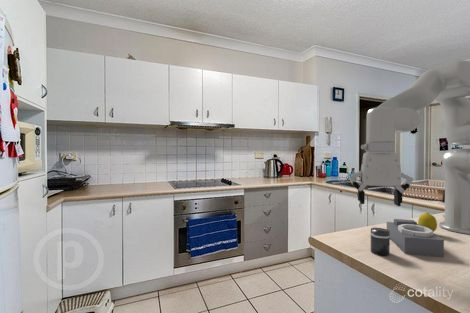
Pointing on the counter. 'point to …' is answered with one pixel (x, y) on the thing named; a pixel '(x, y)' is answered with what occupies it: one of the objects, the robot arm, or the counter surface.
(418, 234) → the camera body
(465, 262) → the counter surface
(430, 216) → the lemon
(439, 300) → the counter surface
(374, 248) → the lens
